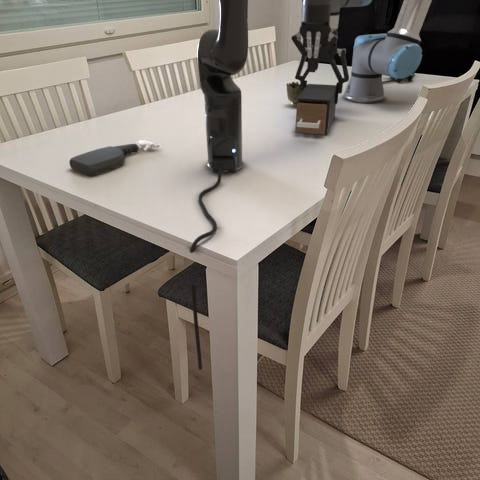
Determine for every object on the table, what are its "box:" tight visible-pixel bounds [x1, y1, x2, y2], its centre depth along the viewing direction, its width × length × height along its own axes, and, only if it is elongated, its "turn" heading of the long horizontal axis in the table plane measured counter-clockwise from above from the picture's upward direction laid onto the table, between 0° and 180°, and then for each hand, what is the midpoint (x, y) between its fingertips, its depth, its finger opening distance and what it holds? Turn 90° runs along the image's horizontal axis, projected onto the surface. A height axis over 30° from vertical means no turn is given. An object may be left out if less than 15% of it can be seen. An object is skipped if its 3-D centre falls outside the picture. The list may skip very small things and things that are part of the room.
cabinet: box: [294, 83, 337, 136], centre depth 146 cm, size 20×10×11 cm, turn 163°
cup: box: [286, 81, 302, 108], centre depth 165 cm, size 8×7×8 cm
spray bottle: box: [68, 139, 160, 177], centre depth 124 cm, size 3×11×24 cm
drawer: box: [295, 101, 327, 136], centre depth 141 cm, size 24×9×9 cm, turn 163°
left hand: (312, 71), depth 126 cm, fingers closed
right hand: (319, 102), depth 151 cm, fingers closed on cabinet, 10 cm apart
